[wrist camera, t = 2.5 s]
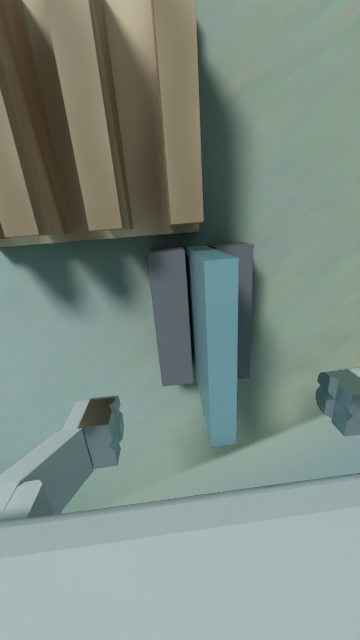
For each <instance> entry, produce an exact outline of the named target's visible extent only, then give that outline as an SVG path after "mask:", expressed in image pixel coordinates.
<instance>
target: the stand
mask: <svg viewBox="0 0 360 640" xmlns="http://www.w3.org/2000/svg"><path fill="white" fill-rule="evenodd" d="M208 247H211V248H213V249H216V250H219V251H221V252H224V253H227V254H229V255H232V256H235V257H237V258H239V263H238V345H237V379H241V378H249V368H250V338H251V307H252V277H253V247H254V244H248V243H242V242H235V243H223V244H211V245H208ZM147 260H148V269H149V277H150V286H151V294H152V302H153V311H154V319H155V328H156V336H157V344H158V353H159V361H160V370H161V378H162V386H170V385H181V384H191V383H193V371H192V355H191V340H190V324H189V309H188V293H187V278H186V262H185V250H184V249H183V248H182V247H174V248H162V249H149V251H148V252H147Z"/></svg>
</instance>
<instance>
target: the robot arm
mask: <svg viewBox="0 0 360 640" xmlns="http://www.w3.org/2000/svg"><path fill="white" fill-rule="evenodd" d="M318 383H319V384H320V387H319V388H318V389H317V390H316V401H317V405H318V407H319V409H320V410H321V411H322V412H323V413H324V414H325V415H327V416H329V417H331V418H332V423H333V424H334V425H335V426H336V428H337V429H338V430H339V431H340V432H341V433H342V434H343V435H344V436H350V435H360V368H357V367H356V368H349V369H344V370H337V371H329V372H321V373H320V374H319V376H318ZM119 408H120V401H119V397H118V396H107V397H96V398H86V399H79V400H77V401H76V403H75V405H74V407H73V409H72V411H71V413H70V415H69V417H68V419H67V421H66V423H65V425H64V427H63V429H62V431H57V432H56V433H54V434H53V435H52V436H50V437H49V438H48V439H47V440H45V441H44V442H43V443H41V444H40V445H39V446H37V447H36V448H35V449H34V450H32V451H31V452H30V453H28V454H27V455H26V456H24V457H23V458H22V459H20V460H19V461H18V462H17V463H15V464H14V465H13V466H11V467H10V468H9V469H7V470H6V471H5V472H4V473H2V474H1V475H0V640H360V473H357V474H350V475H342V476H335V477H327V478H321V479H313V480H305V481H298V482H291V483H284V484H277V485H269V486H262V487H254V488H247V489H240V490H233V491H225V492H218V493H211V494H204V495H196V496H190V497H182V498H174V499H167V500H160V501H152V502H146V503H138V504H130V505H123V506H116V507H108V508H101V509H94V510H87V511H79V512H72V513H65V514H60V513H61V511H62V510H63V509H64V508H65V506H66V505H67V504H68V502H69V501H70V500H71V499H72V497H73V496H74V495H75V493H76V492H77V491H78V490H79V488H80V487H81V486H82V484H83V483H84V482H85V481H86V479H87V478H88V477H89V476H90V474H91V473H92V472H93V469H97V468H103V467H109V466H116V465H118V461H119V455H120V450H121V448H120V443H119V442H120V441H121V440H122V439H123V432H124V422H123V415H122V413H121V412H120V411H119Z"/></svg>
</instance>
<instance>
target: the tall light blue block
mask: <svg viewBox="0 0 360 640" xmlns="http://www.w3.org/2000/svg"><path fill="white" fill-rule="evenodd" d="M185 247H186V263H187V278H188V294H189V310H190V326H191V342H192V358H193V366H194V370H195V375H196V380H197V384H198V389H199V394H200V398H201V403H202V408H203V412H204V417H205V421H206V426H207V431H208V435H209V440H210V445H211V447H217V446H226V445H235V444H236V427H237V345H238V263H239V258H237V257H235V256H232V255H229V254H227V253H224V252H221V251H219V250H216V249H213V248H211V247H208V246H205V245H198V246H185Z"/></svg>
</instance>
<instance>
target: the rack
mask: <svg viewBox="0 0 360 640" xmlns="http://www.w3.org/2000/svg"><path fill="white" fill-rule="evenodd" d="M200 222H204V218H203V190H202V163H201V135H200V108H199V80H198V53H197V25H196V0H0V247H11V246H23V245H36V244H49V243H61V242H74V241H86V240H99V239H111V238H124V237H136V236H149V235H162V234H174V233H187V232H199V231H200V228H199V223H200Z"/></svg>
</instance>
